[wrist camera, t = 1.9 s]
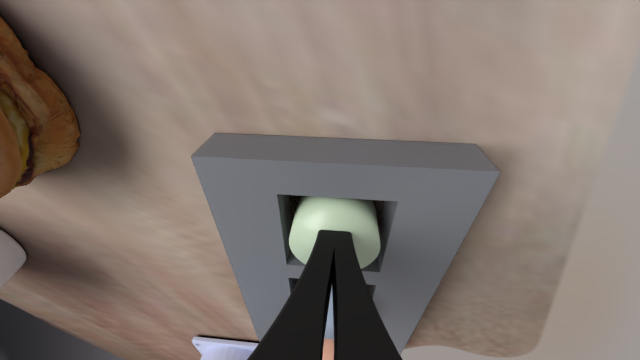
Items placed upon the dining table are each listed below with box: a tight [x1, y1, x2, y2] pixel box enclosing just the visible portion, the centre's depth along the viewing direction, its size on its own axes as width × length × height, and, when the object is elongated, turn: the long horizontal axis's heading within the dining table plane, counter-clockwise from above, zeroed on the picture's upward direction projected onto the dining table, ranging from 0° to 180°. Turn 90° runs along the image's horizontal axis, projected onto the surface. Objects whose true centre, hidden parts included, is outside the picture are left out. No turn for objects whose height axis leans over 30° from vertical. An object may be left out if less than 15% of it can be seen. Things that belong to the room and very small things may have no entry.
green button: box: [289, 196, 380, 269], centre depth 11 cm, size 4×4×2 cm
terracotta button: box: [322, 339, 334, 360], centre depth 18 cm, size 4×4×2 cm
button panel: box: [191, 133, 500, 355], centre depth 15 cm, size 20×11×2 cm, turn 0°
